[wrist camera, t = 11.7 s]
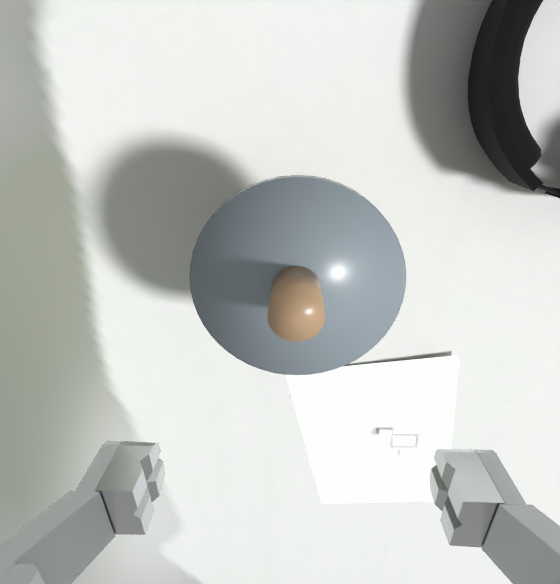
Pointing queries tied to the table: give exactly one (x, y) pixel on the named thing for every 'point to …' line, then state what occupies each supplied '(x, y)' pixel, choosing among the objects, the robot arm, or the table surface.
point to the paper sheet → (376, 427)
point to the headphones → (504, 92)
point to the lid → (297, 275)
